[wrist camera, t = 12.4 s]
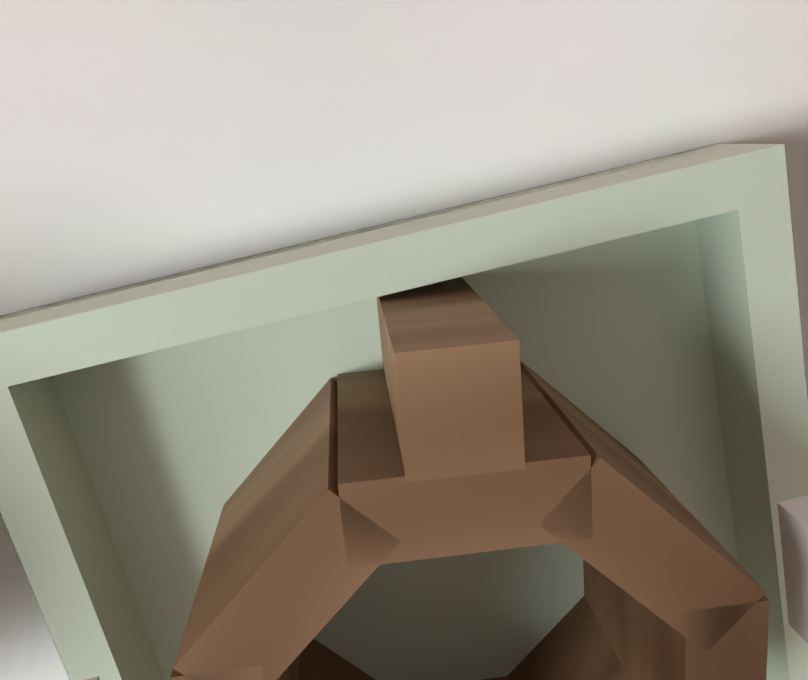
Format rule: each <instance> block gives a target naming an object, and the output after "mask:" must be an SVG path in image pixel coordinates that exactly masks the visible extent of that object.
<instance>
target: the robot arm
mask: <svg viewBox="0 0 808 680" xmlns="http://www.w3.org/2000/svg"><path fill="white" fill-rule="evenodd" d="M777 504H778V515H779V525H780V536H781V546H782V557H783V567H784V578H785V588H786V599H787V609H788V620H789V624H790V625H791V626H792V628H793V629H794V630H795V631H796V632H797V633H798V634H799V635H800V636H801V637H802V638H803V639H804V641H805V642H806V643H807V644H808V495H806V496H802V497H798V498H794V499H790V500H786V501H782V502H778V503H777ZM85 680H100V678H99V676H96V677H92V678H89V679H85Z"/></svg>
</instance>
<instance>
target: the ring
mask: <svg viewBox="0 0 808 680" xmlns="http://www.w3.org/2000/svg"><path fill="white" fill-rule="evenodd" d="M377 307H378V318H379V328H380V339H381V349H382V360H383V369H381V370H371V371H362V372H353V373H343V374H337V382H336V381H335V380H333V379H332V378H330V379H329V380H328V381H327V383H326V384H325V385H324V386H323V387H322V389H321V390H320V391H319V392H318V393H317V394H316V396H315V397H314V398H313V399H312V400H311V402H310V403H309V404H308V405H307V406H306V408H305V409H304V410H303V411H302V412H301V413H300V415H299V416H298V417H297V418H296V419H295V421H294V422H293V423H292V424H291V425H290V427H289V428H288V429H287V430H286V431H285V432H284V434H283V435H282V436H281V437H280V438H279V440H278V441H277V442H276V443H275V444H274V446H273V447H272V448H271V449H270V450H269V451H268V453H267V454H266V455H265V456H264V457H263V459H262V460H261V461H260V462H259V463H258V465H257V466H256V467H255V468H254V469H253V470H252V472H251V473H250V474H249V475H248V476H247V478H246V479H245V480H244V481H243V482H242V484H241V485H240V486H239V487H238V488H237V489H236V491H235V492H234V493H233V494H232V495H231V497H230V498H229V499H228V500H227V501H226V503H225V504H224V505H223V508H222V512H221V515H220V518H219V521H218V525H217V528H216V531H215V534H214V537H213V541H212V544H211V547H210V550H209V554H208V557H207V560H206V563H205V566H204V570H203V573H202V576H201V579H200V582H199V586H198V589H197V592H196V595H195V599H194V602H193V605H192V608H191V611H190V615H189V618H188V621H187V624H186V627H185V631H184V634H183V637H182V640H181V644H180V647H179V650H178V653H177V656H176V660H175V663H174V666H173V670H172V674H171V677H170V678H171V680H376V679H374V678H372V677H371V676H369V675H368V674H366V673H365V672H363V671H362V670H360V669H359V668H357V667H356V666H354V665H353V664H351V663H350V662H348V661H347V660H345V659H344V658H342V657H341V656H339V655H338V654H336V653H335V652H333V651H332V650H330V649H329V648H327V647H325V646H324V645H322V644H321V643H319V642H318V641H316V640H315V639H314V638H315V636H316V635H317V634H318V633H319V632H320V631H321V630H322V629H323V627H324V626H325V625H326V624H327V623H328V622H329V621H330V620H331V619H332V617H333V616H334V615H335V614H336V613H337V612H338V611H339V610H340V608H341V607H342V606H343V605H344V604H345V603H346V602H347V601H348V600H349V598H350V597H351V596H352V595H353V594H354V593H355V592H356V591H357V590H358V588H359V587H360V586H361V585H362V584H363V583H364V582H365V581H366V579H367V578H368V577H369V576H370V575H371V574H372V573H373V572H374V571H375V569H376V568H377V567H378V566H379V565H381V564H390V563H398V562H406V561H414V560H423V559H431V558H439V557H447V556H455V555H464V554H472V553H480V552H488V551H497V550H505V549H513V548H521V547H529V546H538V545H546V544H554V543H563V544H564V545H565V546H567V547H568V548H569V549H571V550H572V551H573V552H575V553H576V554H577V555H578V556H580V557H581V558H582V559H583V571H584V596H583V597H582V598H581V599H580V600H579V601H578V603H577V604H576V605H575V606H574V607H573V608H572V609H571V610H570V611H569V612H568V613H567V614H566V615H565V616H564V617H563V618H562V619H561V620H560V621H559V622H558V623H557V625H556V626H555V627H554V628H553V629H552V630H551V631H550V632H549V633H548V634H547V635H546V636H545V637H544V638H543V639H542V640H541V641H540V642H539V643H538V644H537V645H536V646H535V648H534V649H533V650H532V651H531V652H530V653H529V654H528V655H527V656H526V657H525V658H524V659H523V660H522V661H521V662H520V663H519V664H518V665H517V666H516V667H515V668H514V670H513V671H512V672H511V673H510V674H509V675H508V676H505V677H498V678H490V679H483V680H766V673H767V651H768V628H769V606H770V600H769V599H768V598H767V597H766V596H765V594H766V592H765V591H764V590H763V589H762V588H761V586H760V585H759V584H758V583H757V582H756V581H755V580H754V579H753V578H752V577H751V576H750V575H749V574H748V573H747V572H746V571H745V570H744V569H743V568H742V566H741V565H740V564H739V563H738V562H737V561H736V560H735V559H734V558H733V557H732V556H731V555H730V554H729V553H728V552H727V551H726V550H725V549H724V548H723V546H722V545H721V544H720V543H719V542H718V541H717V540H716V539H715V538H714V537H713V536H712V535H711V534H710V533H709V532H708V531H707V530H706V529H705V528H704V526H703V525H702V524H701V523H700V522H699V521H698V520H697V519H696V518H695V517H694V516H693V515H692V514H691V513H690V512H689V511H688V510H687V509H686V508H685V507H684V505H683V504H682V503H681V502H680V501H679V500H678V499H677V498H676V497H675V496H674V495H673V494H672V493H671V492H670V491H669V490H668V489H667V488H666V487H665V485H664V484H663V483H662V482H661V481H660V480H659V479H658V478H657V477H656V476H655V475H654V474H653V473H652V472H651V471H650V470H649V469H648V468H647V467H646V465H645V464H644V463H643V462H642V461H641V460H640V459H639V458H638V457H637V456H636V455H634V454H633V453H632V452H631V451H630V450H628V449H627V448H626V447H625V446H624V445H622V444H621V443H620V442H619V441H618V440H616V439H615V438H614V437H613V436H611V435H610V434H609V433H608V432H607V431H605V430H604V429H603V428H602V427H601V426H599V425H598V424H597V423H596V422H595V421H593V420H592V419H591V418H590V417H588V416H587V415H586V414H585V413H584V412H582V411H581V410H580V409H579V408H578V407H576V406H575V405H574V404H573V403H572V402H570V401H569V400H568V399H567V398H566V397H564V396H563V395H562V394H561V393H559V392H558V391H557V390H556V389H555V388H553V387H552V386H551V385H550V384H549V383H547V382H546V381H545V380H544V379H543V378H541V377H540V376H539V375H538V374H536V373H535V372H534V371H533V370H532V369H530V368H529V367H528V366H527V365H526V364H524V363H523V362H522V361H521V360H520V344H519V339H518V338H517V337H516V336H515V335H514V334H513V333H512V332H511V330H510V329H509V328H508V327H507V326H506V325H505V324H504V323H503V322H502V321H501V320H500V318H499V317H498V316H497V315H496V314H495V313H494V312H493V311H492V310H491V309H490V307H489V306H488V305H487V304H486V303H485V302H484V301H483V300H482V299H481V298H480V297H479V295H478V294H477V293H476V292H475V291H474V290H473V289H472V288H471V287H470V286H469V285H468V283H467V282H466V281H465V280H464V279H463V278H462V277H458V278H454V279H450V280H446V281H441V282H437V283H433V284H429V285H425V286H421V287H417V288H413V289H408V290H404V291H400V292H396V293H392V294H388V295H384V296H380V297H377Z"/></svg>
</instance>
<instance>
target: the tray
mask: <svg viewBox="0 0 808 680" xmlns="http://www.w3.org/2000/svg"><path fill="white" fill-rule="evenodd" d="M458 277H462V278H463V279H464V280H465V281H466V282H467V283H468V285H469V286H470V287H471V288H472V289H473V290H474V291H475V292H476V293H477V294H478V295H479V297H480V298H481V299H482V300H483V301H484V302H485V303H486V304H487V305H488V306H489V307H490V309H491V310H492V311H493V312H494V313H495V314H496V315H497V316H498V317H499V318H500V320H501V321H502V322H503V323H504V324H505V325H506V326H507V327H508V328H509V329H510V330H511V332H512V333H513V334H514V335H515V336H516V337H517V338H518V339H519V344H520V360H521V361H522V362H523V363H524V364H526V365H527V366H528V367H529V368H530V369H532V370H533V371H534V372H535V373H536V374H538V375H539V376H540V377H541V378H543V379H544V380H545V381H546V382H547V383H549V384H550V385H551V386H552V387H553V388H555V389H556V390H557V391H558V392H559V393H561V394H562V395H563V396H564V397H566V398H567V399H568V400H569V401H570V402H572V403H573V404H574V405H575V406H576V407H578V408H579V409H580V410H581V411H582V412H584V413H585V414H586V415H587V416H588V417H590V418H591V419H592V420H593V421H595V422H596V423H597V424H598V425H599V426H601V427H602V428H603V429H604V430H605V431H607V432H608V433H609V434H610V435H611V436H613V437H614V438H615V439H616V440H618V441H619V442H620V443H621V444H622V445H624V446H625V447H626V448H627V449H628V450H630V451H631V452H632V453H633V454H634V455H636V456H637V457H638V458H639V459H640V460H641V461H642V462H643V463H644V464H645V465H646V467H647V468H648V469H649V470H650V471H651V472H652V473H653V474H654V475H655V476H656V477H657V478H658V479H659V480H660V481H661V482H662V483H663V484H664V485H665V487H666V488H667V489H668V490H669V491H670V492H671V493H672V494H673V495H674V496H675V497H676V498H677V499H678V500H679V501H680V502H681V503H682V504H683V505H684V507H685V508H686V509H687V510H688V511H689V512H690V513H691V514H692V515H693V516H694V517H695V518H696V519H697V520H698V521H699V522H700V523H701V524H702V525H703V526H704V528H705V529H706V530H707V531H708V532H709V533H710V534H711V535H712V536H713V537H714V538H715V539H716V540H717V541H718V542H719V543H720V544H721V545H722V546H723V548H724V549H725V550H726V551H727V552H728V553H729V554H730V555H731V556H732V557H733V558H734V559H735V560H736V561H737V562H738V563H739V564H740V565H741V566H742V568H743V569H744V570H745V571H746V572H747V573H748V574H749V575H750V576H751V577H752V578H753V579H754V580H755V581H756V582H757V583H758V584H759V585H760V586H761V588H762V589H763V590H764V591H765V592H766V594H765V596H766V597H767V598H768V599H769V600H770V606H769V628H768V651H767V673H766V680H808V644H807V643H806V642H805V641H804V639H803V638H802V637H801V636H800V635H799V634H798V633H797V632H796V631H795V630H794V629H793V628H792V626H791V625H790V624H789V620H788V609H787V599H786V588H785V578H784V567H783V557H782V546H781V536H780V525H779V515H778V504H777V503H778V502H782V501H786V500H790V499H794V498H798V497H802V496H806V495H808V399H807V388H806V377H805V366H804V355H803V344H802V333H801V322H800V311H799V300H798V289H797V278H796V267H795V256H794V245H793V234H792V223H791V212H790V201H789V190H788V179H787V168H786V157H785V146H784V144H731V143H719V144H715V145H711V146H706V147H702V148H698V149H694V150H690V151H686V152H681V153H677V154H673V155H669V156H665V157H661V158H657V159H652V160H648V161H644V162H640V163H636V164H632V165H627V166H623V167H619V168H615V169H611V170H607V171H602V172H598V173H594V174H590V175H586V176H582V177H577V178H573V179H569V180H565V181H561V182H557V183H552V184H548V185H544V186H540V187H536V188H532V189H527V190H523V191H519V192H515V193H511V194H507V195H503V196H498V197H494V198H490V199H486V200H482V201H478V202H473V203H469V204H465V205H461V206H457V207H453V208H448V209H444V210H440V211H436V212H432V213H428V214H423V215H419V216H415V217H411V218H407V219H403V220H398V221H394V222H390V223H386V224H382V225H378V226H373V227H369V228H365V229H361V230H357V231H353V232H349V233H344V234H340V235H336V236H332V237H328V238H324V239H319V240H315V241H311V242H307V243H303V244H299V245H294V246H290V247H286V248H282V249H278V250H274V251H269V252H265V253H261V254H257V255H253V256H249V257H244V258H240V259H236V260H232V261H228V262H224V263H219V264H215V265H211V266H207V267H203V268H199V269H194V270H190V271H186V272H182V273H178V274H174V275H170V276H165V277H161V278H157V279H153V280H149V281H145V282H140V283H136V284H132V285H128V286H124V287H120V288H115V289H111V290H107V291H103V292H99V293H95V294H90V295H86V296H82V297H78V298H74V299H70V300H65V301H61V302H57V303H53V304H49V305H45V306H40V307H36V308H32V309H28V310H24V311H20V312H16V313H11V314H7V315H3V316H0V512H1V515H2V517H3V519H4V522H5V524H6V527H7V529H8V532H9V534H10V537H11V539H12V541H13V544H14V546H15V549H16V551H17V554H18V556H19V558H20V561H21V563H22V566H23V568H24V571H25V573H26V575H27V578H28V580H29V583H30V585H31V588H32V590H33V592H34V595H35V597H36V600H37V602H38V605H39V607H40V609H41V612H42V614H43V617H44V619H45V622H46V624H47V626H48V629H49V631H50V634H51V636H52V639H53V641H54V643H55V646H56V648H57V651H58V653H59V656H60V658H61V660H62V663H63V665H64V668H65V670H66V673H67V675H68V677H69V680H85V679H89V678H92V677H96V676H99V678H100V680H171V678H170V677H171V674H172V670H173V666H174V663H175V660H176V656H177V653H178V650H179V647H180V644H181V640H182V637H183V634H184V631H185V627H186V624H187V621H188V618H189V615H190V611H191V608H192V605H193V602H194V599H195V595H196V592H197V589H198V586H199V582H200V579H201V576H202V573H203V570H204V566H205V563H206V560H207V557H208V554H209V550H210V547H211V544H212V541H213V537H214V534H215V531H216V528H217V525H218V521H219V518H220V515H221V512H222V508H223V505H224V504H225V503H226V501H227V500H228V499H229V498H230V497H231V495H232V494H233V493H234V492H235V491H236V489H237V488H238V487H239V486H240V485H241V484H242V482H243V481H244V480H245V479H246V478H247V476H248V475H249V474H250V473H251V472H252V470H253V469H254V468H255V467H256V466H257V465H258V463H259V462H260V461H261V460H262V459H263V457H264V456H265V455H266V454H267V453H268V451H269V450H270V449H271V448H272V447H273V446H274V444H275V443H276V442H277V441H278V440H279V438H280V437H281V436H282V435H283V434H284V432H285V431H286V430H287V429H288V428H289V427H290V425H291V424H292V423H293V422H294V421H295V419H296V418H297V417H298V416H299V415H300V413H301V412H302V411H303V410H304V409H305V408H306V406H307V405H308V404H309V403H310V402H311V400H312V399H313V398H314V397H315V396H316V394H317V393H318V392H319V391H320V390H321V389H322V387H323V386H324V385H325V384H326V383H327V381H328V380H329V379H330V378H332V379H333V380H335V381H336V382H337V374H343V373H353V372H362V371H371V370H381V369H383V360H382V349H381V339H380V328H379V318H378V307H377V297H380V296H384V295H388V294H392V293H396V292H400V291H404V290H408V289H413V288H417V287H421V286H425V285H429V284H433V283H437V282H441V281H446V280H450V279H454V278H458ZM583 596H584V571H583V559H582V558H581V557H580V556H578V555H577V554H576V553H575V552H573V551H572V550H571V549H569V548H568V547H567V546H565V545H564V544H563V543H554V544H546V545H538V546H529V547H521V548H513V549H505V550H497V551H488V552H480V553H472V554H464V555H455V556H447V557H439V558H431V559H423V560H414V561H406V562H398V563H390V564H381V565H379V566H378V567H377V568H376V569H375V571H374V572H373V573H372V574H371V575H370V576H369V577H368V578H367V579H366V581H365V582H364V583H363V584H362V585H361V586H360V587H359V588H358V590H357V591H356V592H355V593H354V594H353V595H352V596H351V597H350V598H349V600H348V601H347V602H346V603H345V604H344V605H343V606H342V607H341V608H340V610H339V611H338V612H337V613H336V614H335V615H334V616H333V617H332V619H331V620H330V621H329V622H328V623H327V624H326V625H325V626H324V627H323V629H322V630H321V631H320V632H319V633H318V634H317V635H316V636H315V638H314V639H315V640H316V641H318V642H319V643H321V644H322V645H324V646H325V647H327V648H329V649H330V650H332V651H333V652H335V653H336V654H338V655H339V656H341V657H342V658H344V659H345V660H347V661H348V662H350V663H351V664H353V665H354V666H356V667H357V668H359V669H360V670H362V671H363V672H365V673H366V674H368V675H369V676H371V677H372V678H374V679H376V680H483V679H490V678H498V677H505V676H508V675H509V674H510V673H511V672H512V671H513V670H514V668H515V667H516V666H517V665H518V664H519V663H520V662H521V661H522V660H523V659H524V658H525V657H526V656H527V655H528V654H529V653H530V652H531V651H532V650H533V649H534V648H535V646H536V645H537V644H538V643H539V642H540V641H541V640H542V639H543V638H544V637H545V636H546V635H547V634H548V633H549V632H550V631H551V630H552V629H553V628H554V627H555V626H556V625H557V623H558V622H559V621H560V620H561V619H562V618H563V617H564V616H565V615H566V614H567V613H568V612H569V611H570V610H571V609H572V608H573V607H574V606H575V605H576V604H577V603H578V601H579V600H580V599H581V598H582V597H583Z"/></svg>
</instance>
